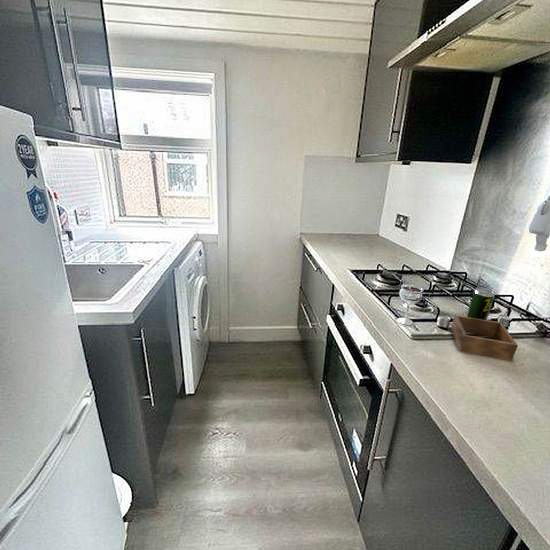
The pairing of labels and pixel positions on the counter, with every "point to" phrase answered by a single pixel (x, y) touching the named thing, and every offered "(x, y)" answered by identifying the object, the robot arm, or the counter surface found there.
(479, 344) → the brown wooden open box
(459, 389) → the counter surface
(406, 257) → the counter surface
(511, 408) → the counter surface
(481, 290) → the beer can
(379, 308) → the counter surface
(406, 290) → the wineglass
